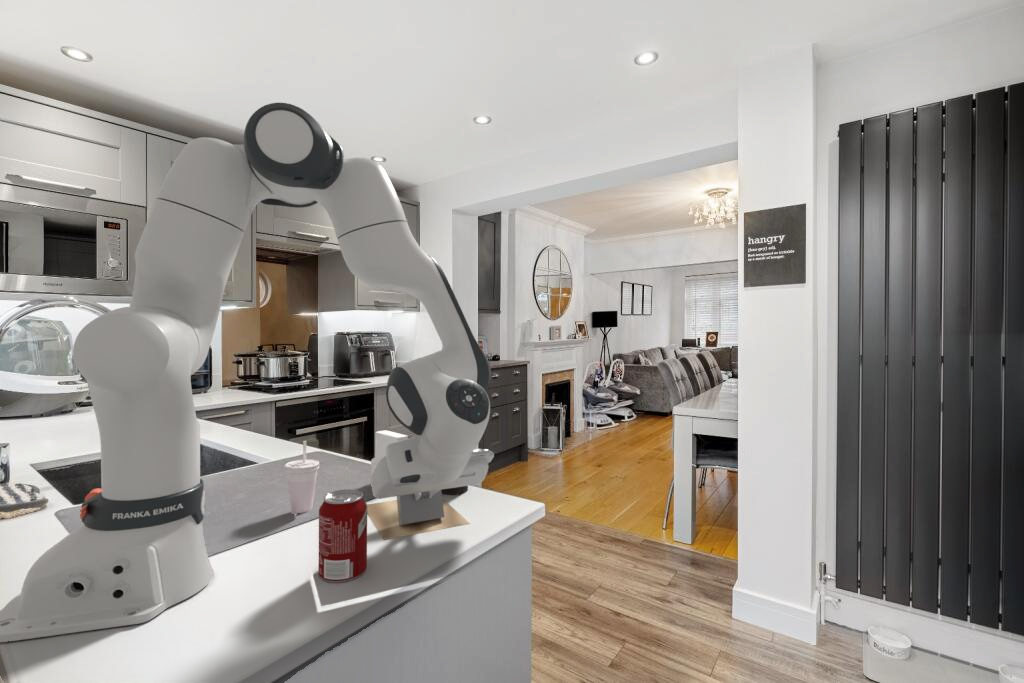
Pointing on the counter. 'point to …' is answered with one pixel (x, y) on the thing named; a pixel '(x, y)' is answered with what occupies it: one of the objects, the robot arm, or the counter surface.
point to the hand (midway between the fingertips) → (422, 495)
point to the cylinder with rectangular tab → (384, 445)
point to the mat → (389, 527)
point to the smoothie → (301, 482)
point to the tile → (419, 508)
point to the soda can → (342, 536)
